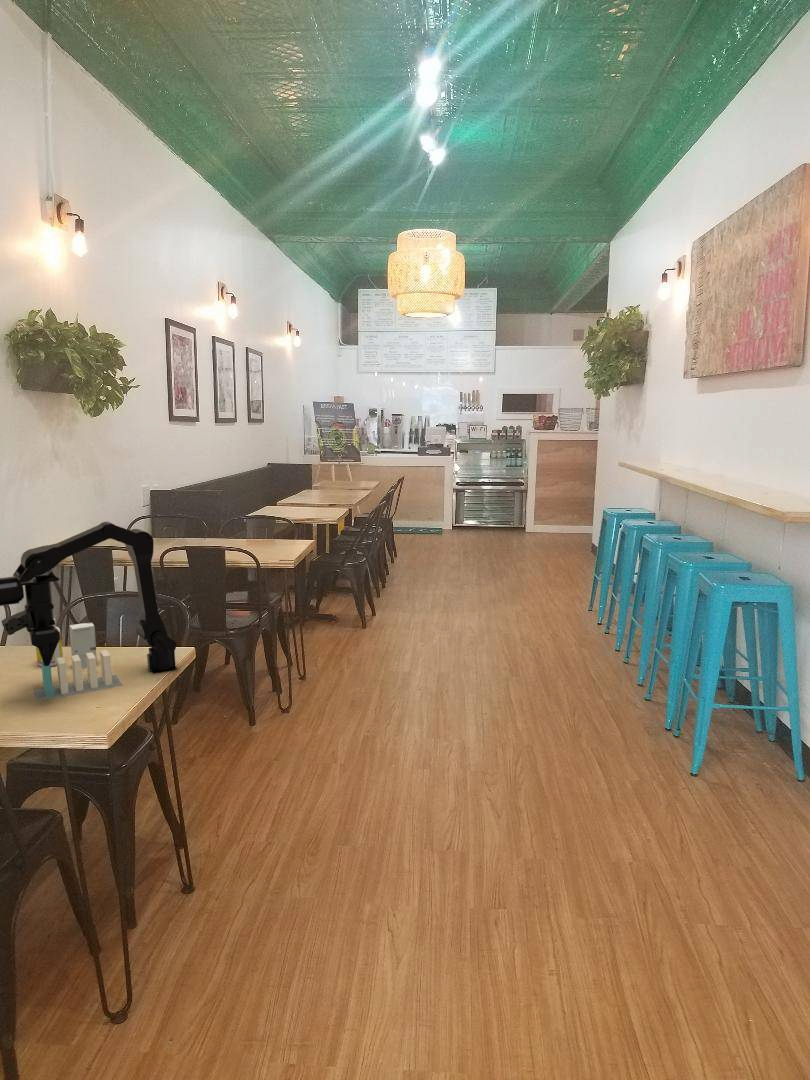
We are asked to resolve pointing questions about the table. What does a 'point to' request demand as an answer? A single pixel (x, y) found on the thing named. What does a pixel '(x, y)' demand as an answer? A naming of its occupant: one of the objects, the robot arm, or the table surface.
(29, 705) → the table surface
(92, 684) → the domino
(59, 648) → the supplement bottle
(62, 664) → the domino
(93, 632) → the skincare box
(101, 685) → the mat
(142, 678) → the table surface
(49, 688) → the teal domino
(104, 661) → the domino
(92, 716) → the table surface
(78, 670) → the domino
